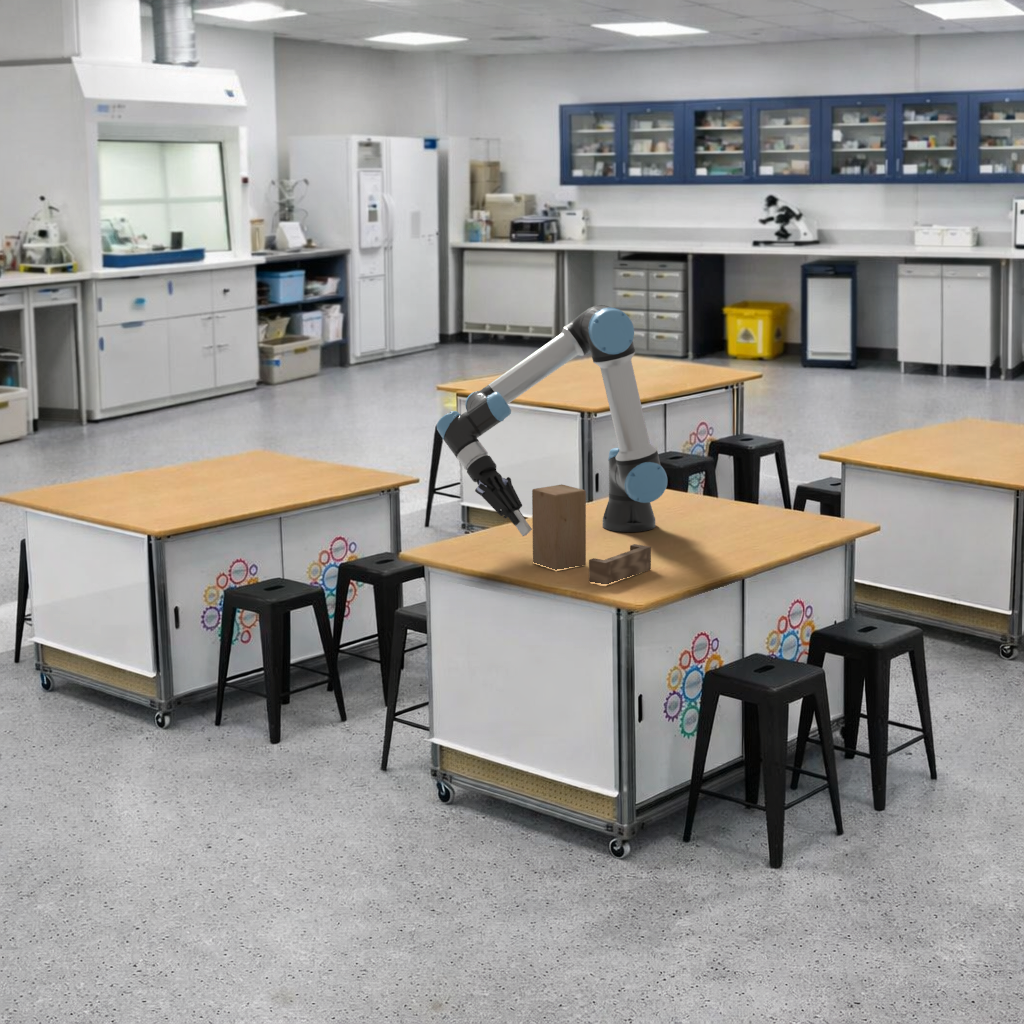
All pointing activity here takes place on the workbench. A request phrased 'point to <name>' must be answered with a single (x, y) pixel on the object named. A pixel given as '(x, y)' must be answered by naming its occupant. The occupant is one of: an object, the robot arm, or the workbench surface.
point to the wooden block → (559, 526)
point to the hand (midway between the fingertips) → (527, 532)
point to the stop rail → (620, 565)
